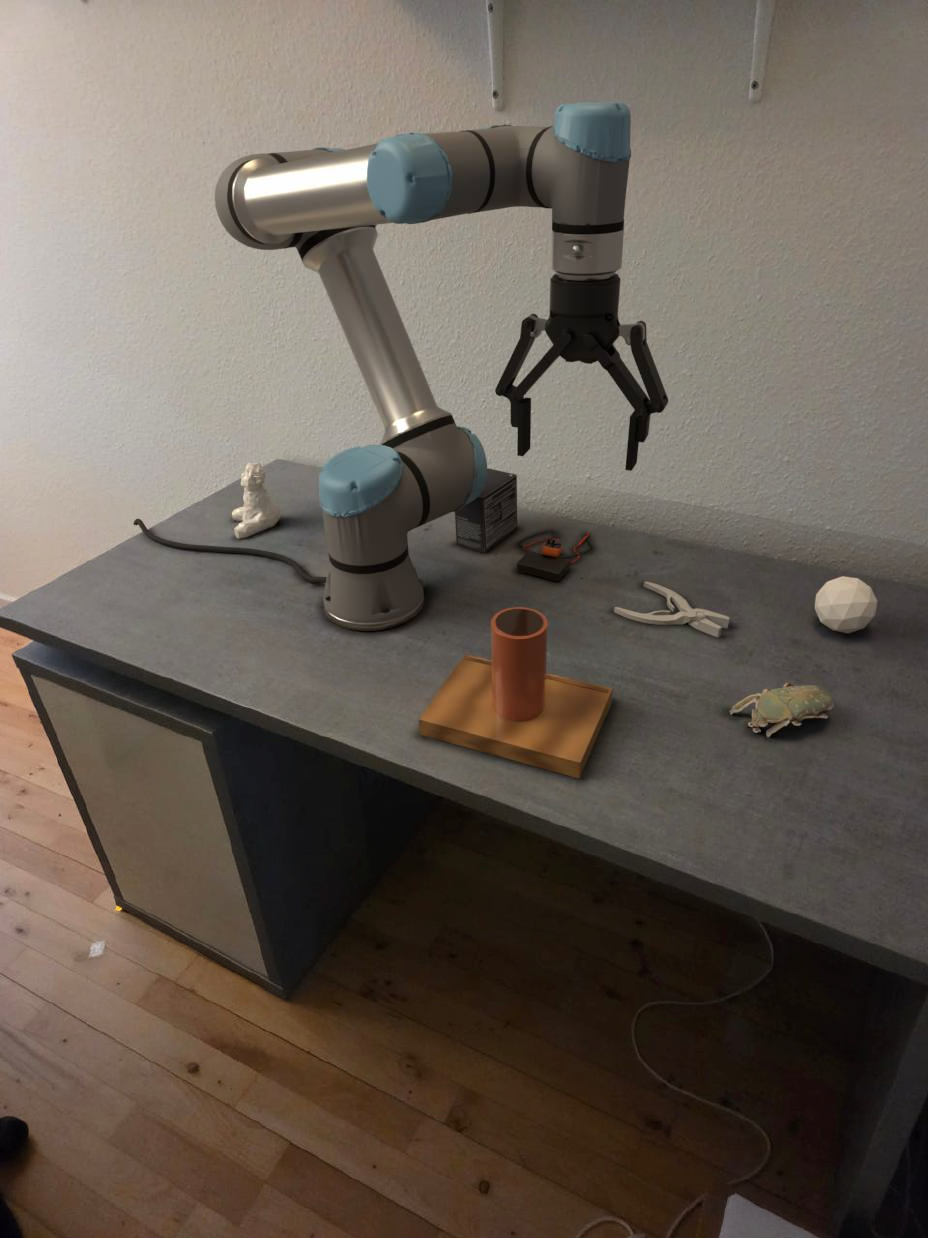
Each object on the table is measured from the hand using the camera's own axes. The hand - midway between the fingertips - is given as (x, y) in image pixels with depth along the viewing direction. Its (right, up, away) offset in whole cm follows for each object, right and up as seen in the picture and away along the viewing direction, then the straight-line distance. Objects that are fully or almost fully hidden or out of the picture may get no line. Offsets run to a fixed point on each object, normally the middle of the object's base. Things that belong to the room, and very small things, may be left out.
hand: (576, 459), depth 97 cm
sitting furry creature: (-51, -3, +47) cm, 70 cm away
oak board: (-7, -32, +1) cm, 33 cm away
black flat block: (+1, -8, +36) cm, 37 cm away
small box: (-10, -5, +41) cm, 42 cm away
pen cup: (-7, -30, -1) cm, 31 cm away
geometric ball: (+39, -21, +15) cm, 47 cm away
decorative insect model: (+25, -32, 0) cm, 40 cm away
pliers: (+17, -19, +19) cm, 32 cm away
